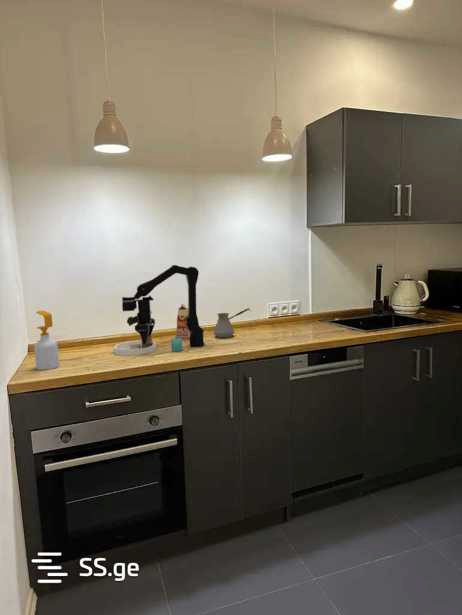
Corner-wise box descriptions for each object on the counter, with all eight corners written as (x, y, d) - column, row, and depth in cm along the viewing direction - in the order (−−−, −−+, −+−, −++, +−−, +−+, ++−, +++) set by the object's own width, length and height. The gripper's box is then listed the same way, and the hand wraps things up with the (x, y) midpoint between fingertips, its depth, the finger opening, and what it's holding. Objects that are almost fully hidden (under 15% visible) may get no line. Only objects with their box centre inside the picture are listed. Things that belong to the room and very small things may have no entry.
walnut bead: (153, 347, 201) (152, 335, 200) (151, 349, 196) (150, 337, 195) (143, 347, 201) (142, 335, 200) (140, 349, 196) (140, 337, 195)
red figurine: (190, 341, 215) (188, 304, 212) (174, 341, 217) (172, 304, 214) (195, 337, 224) (193, 301, 221) (180, 337, 226) (177, 302, 223)
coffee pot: (215, 339, 216) (214, 312, 214) (212, 335, 227) (210, 309, 225) (254, 336, 221) (253, 309, 219) (248, 332, 232) (247, 306, 230)
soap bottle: (46, 364, 180) (41, 309, 177) (64, 364, 177) (58, 309, 174) (31, 369, 171) (25, 312, 168) (49, 370, 169) (43, 312, 165)
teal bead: (182, 349, 197) (182, 337, 196) (181, 351, 192) (180, 339, 191) (172, 349, 197) (171, 337, 196) (171, 352, 192) (170, 339, 191)
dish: (159, 345, 209) (159, 339, 208) (151, 354, 189) (151, 348, 188) (120, 346, 209) (120, 341, 208) (109, 356, 189) (108, 350, 189)
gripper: (132, 308, 205) (134, 338, 207) (122, 313, 187) (125, 346, 189) (154, 307, 205) (156, 337, 207) (146, 312, 187) (149, 345, 189)
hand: (146, 341), depth 198 cm, fingers open, 9 cm apart
